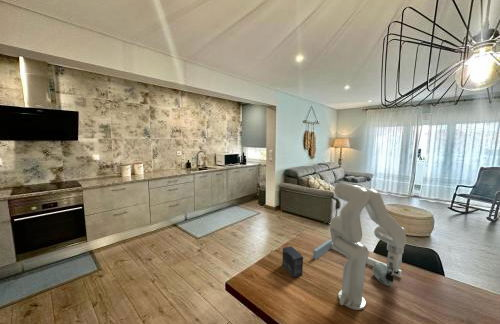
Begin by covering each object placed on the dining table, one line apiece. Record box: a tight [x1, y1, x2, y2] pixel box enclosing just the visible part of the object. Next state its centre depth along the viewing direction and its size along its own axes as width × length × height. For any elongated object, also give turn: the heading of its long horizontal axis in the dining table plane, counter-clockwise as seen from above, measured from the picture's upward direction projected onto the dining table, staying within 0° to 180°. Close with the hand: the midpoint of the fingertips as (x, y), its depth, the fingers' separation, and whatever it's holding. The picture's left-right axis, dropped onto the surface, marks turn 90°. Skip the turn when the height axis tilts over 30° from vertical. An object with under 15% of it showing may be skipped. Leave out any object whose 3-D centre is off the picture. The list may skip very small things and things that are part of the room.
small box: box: [281, 245, 304, 278], centre depth 131 cm, size 13×7×12 cm, turn 22°
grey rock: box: [372, 262, 394, 287], centre depth 123 cm, size 14×10×10 cm
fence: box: [312, 238, 403, 278], centre depth 135 cm, size 23×45×6 cm, turn 42°
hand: (392, 276), depth 118 cm, fingers open, 9 cm apart
